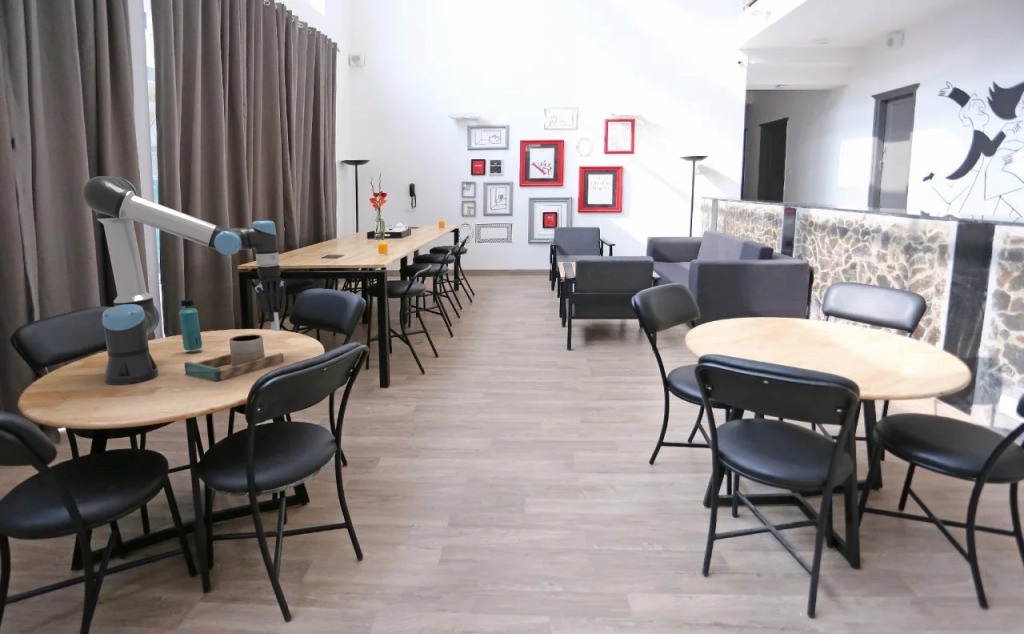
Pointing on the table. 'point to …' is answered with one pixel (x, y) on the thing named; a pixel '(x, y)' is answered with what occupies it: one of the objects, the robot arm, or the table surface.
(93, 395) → the table surface
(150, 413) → the table surface
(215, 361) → the bay
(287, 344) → the table surface
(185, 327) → the beverage bottle
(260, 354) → the planter
